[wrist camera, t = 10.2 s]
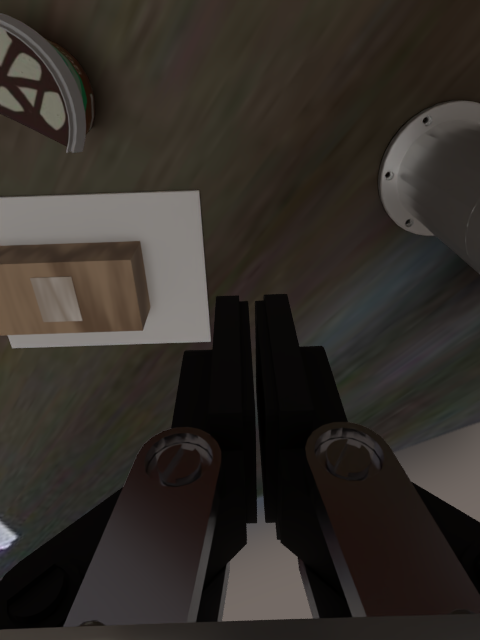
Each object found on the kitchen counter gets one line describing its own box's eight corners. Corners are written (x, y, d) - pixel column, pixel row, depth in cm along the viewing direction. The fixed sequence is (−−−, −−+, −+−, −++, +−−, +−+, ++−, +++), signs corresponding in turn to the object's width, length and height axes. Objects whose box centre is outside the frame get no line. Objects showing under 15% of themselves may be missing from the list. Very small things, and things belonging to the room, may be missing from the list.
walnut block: (130, 260, 41) (-27, 265, 41) (142, 331, 45) (-1, 335, 45) (140, 241, 46) (-3, 245, 46) (150, 307, 50) (20, 311, 50)
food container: (131, 69, 38) (101, 71, 29) (107, 136, 41) (74, 156, 32) (-15, -15, 35) (-96, -39, 26) (-29, 64, 37) (-107, 65, 29)
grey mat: (199, 189, 43) (198, 191, 43) (210, 339, 53) (210, 341, 52) (-41, 198, 43) (-43, 199, 43) (13, 346, 53) (12, 348, 52)
